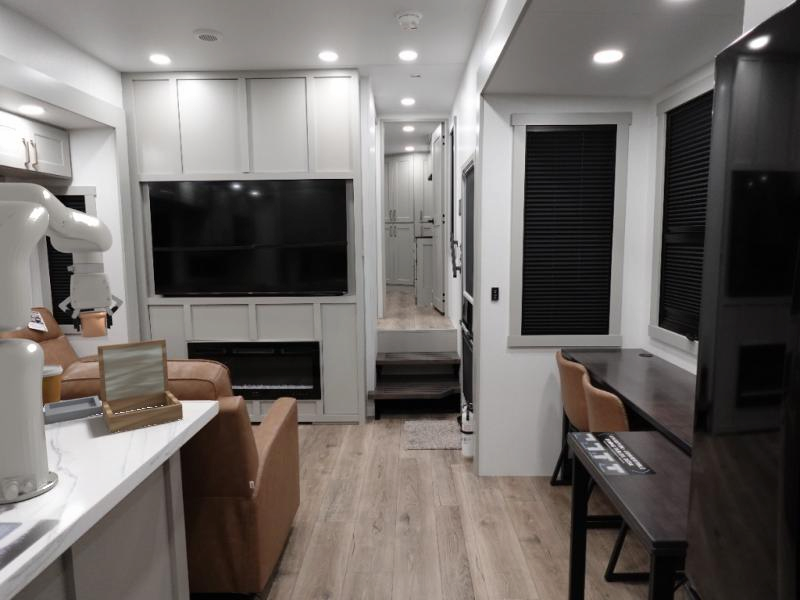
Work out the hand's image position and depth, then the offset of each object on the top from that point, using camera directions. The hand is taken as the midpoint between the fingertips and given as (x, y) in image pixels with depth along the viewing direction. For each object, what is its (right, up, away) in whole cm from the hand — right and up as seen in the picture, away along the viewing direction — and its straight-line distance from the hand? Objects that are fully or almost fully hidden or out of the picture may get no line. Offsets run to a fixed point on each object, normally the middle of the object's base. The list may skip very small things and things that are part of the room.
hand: (93, 329), depth 147 cm
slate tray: (-9, -26, +5) cm, 28 cm away
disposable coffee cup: (-23, -25, +14) cm, 37 cm away
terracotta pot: (0, -2, 0) cm, 2 cm away
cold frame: (+15, -26, 0) cm, 30 cm away
